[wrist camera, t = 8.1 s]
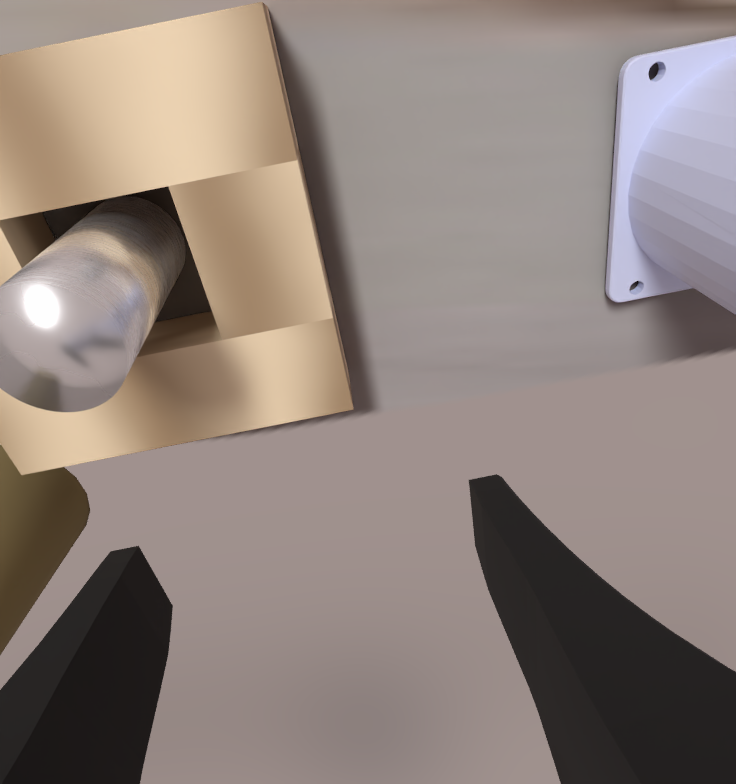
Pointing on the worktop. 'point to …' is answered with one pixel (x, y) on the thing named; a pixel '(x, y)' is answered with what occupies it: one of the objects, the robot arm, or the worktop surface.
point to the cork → (34, 535)
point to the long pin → (88, 305)
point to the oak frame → (199, 221)
